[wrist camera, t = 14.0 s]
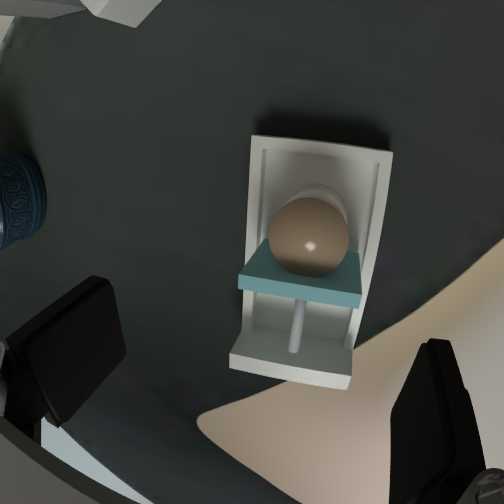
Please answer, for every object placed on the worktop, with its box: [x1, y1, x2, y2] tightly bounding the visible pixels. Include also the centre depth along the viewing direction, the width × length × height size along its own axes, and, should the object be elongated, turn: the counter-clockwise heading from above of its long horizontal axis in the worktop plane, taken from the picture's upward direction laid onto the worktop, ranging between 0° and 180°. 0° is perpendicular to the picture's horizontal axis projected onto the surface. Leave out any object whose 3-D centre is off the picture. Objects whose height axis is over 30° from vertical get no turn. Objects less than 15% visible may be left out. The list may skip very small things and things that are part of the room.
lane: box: [230, 135, 393, 390], centre depth 29 cm, size 12×22×6 cm, turn 176°
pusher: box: [238, 238, 362, 353], centre depth 28 cm, size 9×9×8 cm
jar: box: [269, 184, 349, 276], centre depth 26 cm, size 6×6×7 cm
